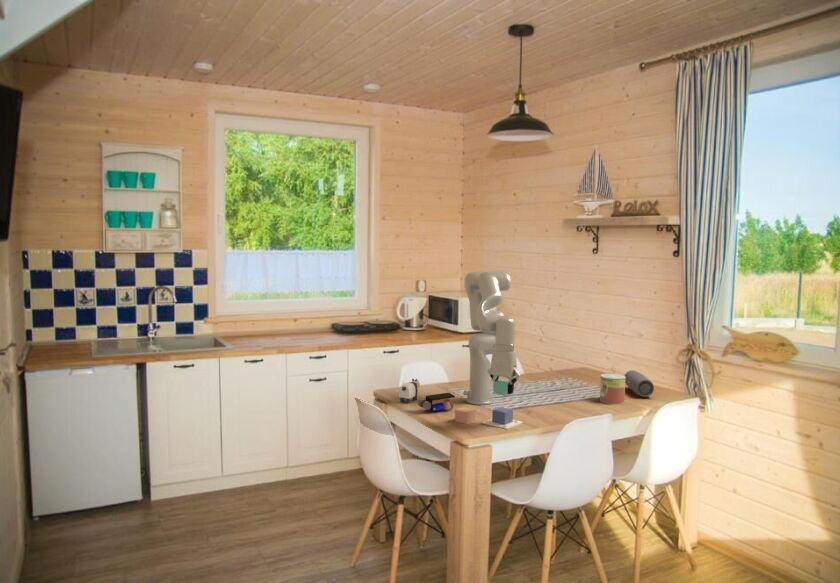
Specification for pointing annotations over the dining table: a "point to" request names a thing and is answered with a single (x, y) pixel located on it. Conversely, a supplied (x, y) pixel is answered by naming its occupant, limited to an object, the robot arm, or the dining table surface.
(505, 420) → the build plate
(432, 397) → the figurine character
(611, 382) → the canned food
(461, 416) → the coral brick
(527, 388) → the dining table surface
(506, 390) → the teal brick
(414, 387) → the giant panda
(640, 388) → the bluetooth speaker
